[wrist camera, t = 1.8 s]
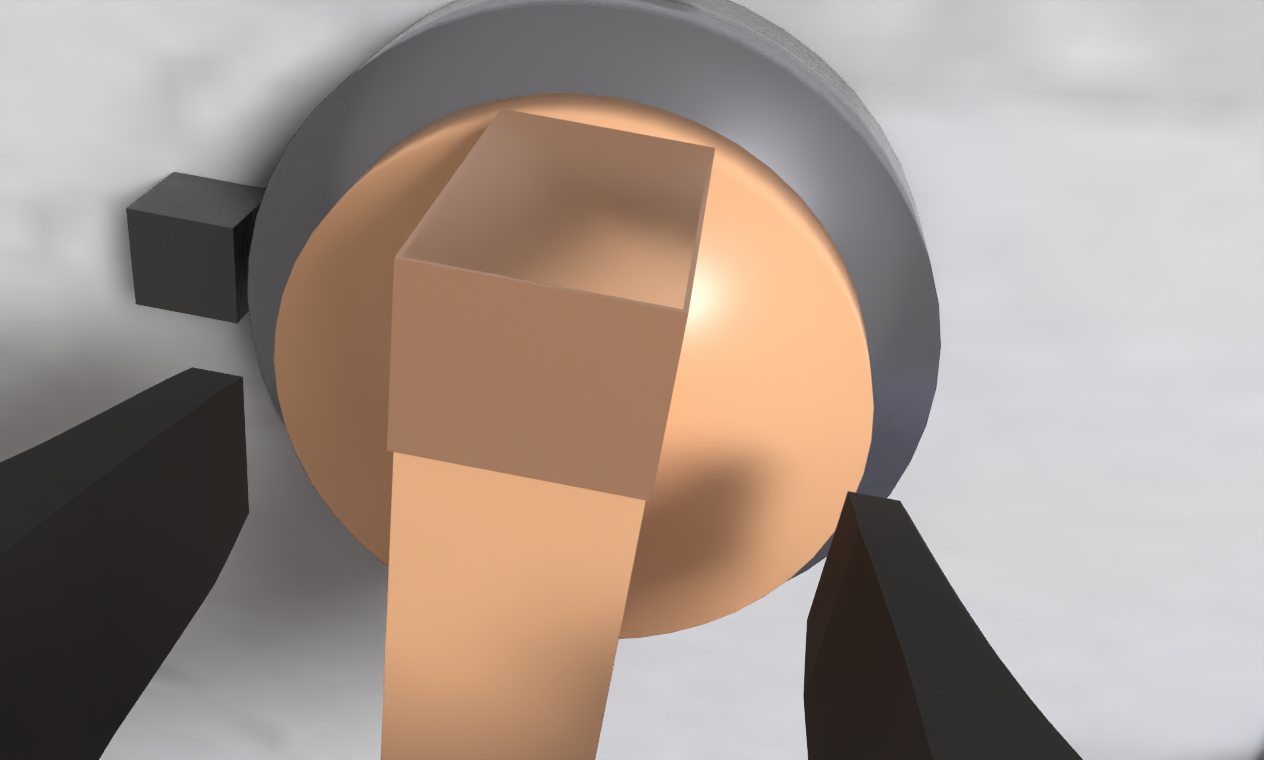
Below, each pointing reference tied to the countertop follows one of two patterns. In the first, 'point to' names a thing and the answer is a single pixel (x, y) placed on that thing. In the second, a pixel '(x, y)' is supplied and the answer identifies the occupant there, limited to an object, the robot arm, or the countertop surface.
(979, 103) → the countertop surface
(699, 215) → the twist cap
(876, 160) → the post base
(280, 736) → the countertop surface
